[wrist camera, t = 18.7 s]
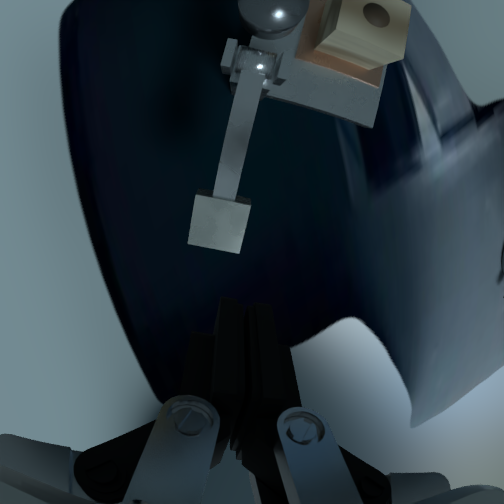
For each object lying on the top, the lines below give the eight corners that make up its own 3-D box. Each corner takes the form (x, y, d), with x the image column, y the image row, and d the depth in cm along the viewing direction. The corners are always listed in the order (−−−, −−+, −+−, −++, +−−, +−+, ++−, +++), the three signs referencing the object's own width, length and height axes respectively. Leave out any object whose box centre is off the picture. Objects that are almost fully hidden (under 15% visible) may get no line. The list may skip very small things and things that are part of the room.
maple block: (369, 70, 24) (403, 58, 17) (313, 49, 23) (335, 29, 17) (378, 24, 22) (411, 5, 15) (325, 3, 21) (347, -25, 14)
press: (363, 131, 29) (425, 139, 18) (226, 93, 27) (218, 72, 16) (389, 11, 22) (447, -22, 11) (262, -32, 20) (274, -92, 9)
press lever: (241, 237, 25) (241, 262, 22) (191, 227, 25) (182, 250, 21) (304, 0, 16) (315, -17, 12) (246, -14, 15) (247, -33, 12)
